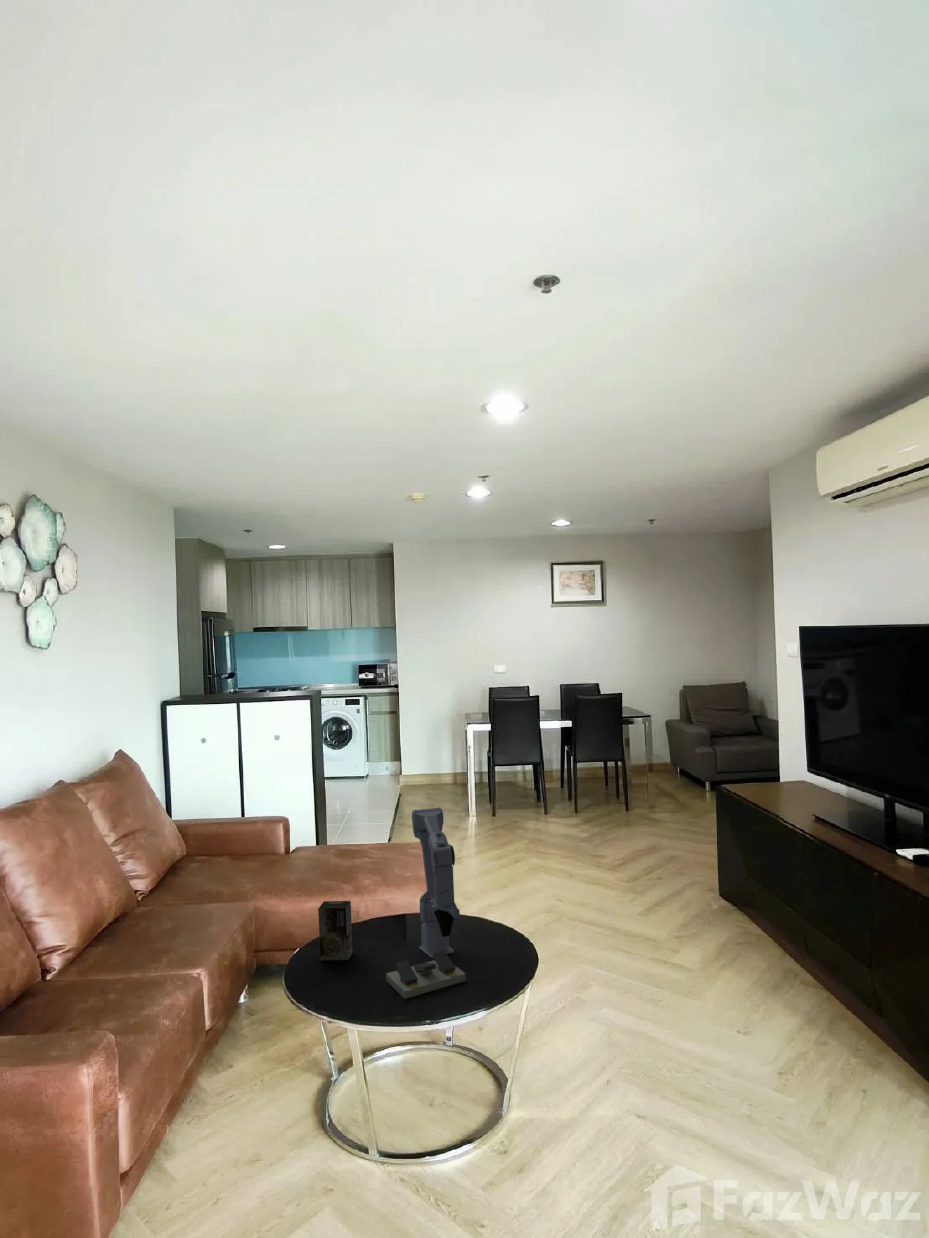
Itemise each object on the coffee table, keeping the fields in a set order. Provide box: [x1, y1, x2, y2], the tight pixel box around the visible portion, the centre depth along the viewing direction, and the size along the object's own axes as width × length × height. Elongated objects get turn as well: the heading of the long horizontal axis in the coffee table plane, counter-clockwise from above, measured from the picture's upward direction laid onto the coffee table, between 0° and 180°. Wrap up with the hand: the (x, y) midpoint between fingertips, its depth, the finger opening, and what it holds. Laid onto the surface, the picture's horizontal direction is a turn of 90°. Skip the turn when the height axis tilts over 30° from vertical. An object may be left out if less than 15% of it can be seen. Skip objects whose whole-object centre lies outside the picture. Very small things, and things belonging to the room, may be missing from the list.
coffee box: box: [317, 900, 354, 961], centre depth 222 cm, size 9×6×16 cm
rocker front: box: [394, 960, 418, 985], centre depth 200 cm, size 8×4×1 cm, turn 29°
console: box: [385, 959, 467, 1000], centre depth 202 cm, size 13×19×3 cm
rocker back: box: [432, 951, 456, 974], centre depth 205 cm, size 8×4×1 cm, turn 29°
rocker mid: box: [413, 962, 436, 972], centre depth 203 cm, size 8×4×1 cm, turn 29°
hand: (446, 935), depth 208 cm, fingers closed
